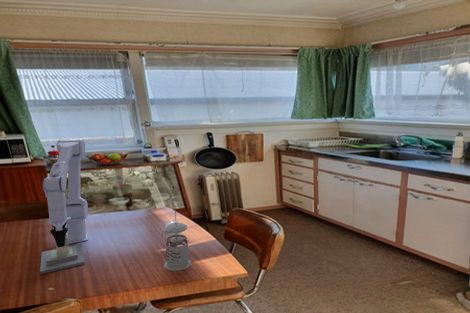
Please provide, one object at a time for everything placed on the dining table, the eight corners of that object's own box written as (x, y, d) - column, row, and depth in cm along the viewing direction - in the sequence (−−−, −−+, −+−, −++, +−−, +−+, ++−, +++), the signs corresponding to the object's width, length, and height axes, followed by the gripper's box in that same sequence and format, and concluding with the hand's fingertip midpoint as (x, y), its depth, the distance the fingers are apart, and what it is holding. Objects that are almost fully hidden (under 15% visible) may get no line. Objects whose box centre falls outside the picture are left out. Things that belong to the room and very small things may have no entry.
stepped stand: (42, 254, 124) (41, 247, 124) (81, 246, 131) (80, 240, 131) (40, 274, 109) (39, 266, 108) (84, 264, 116) (84, 257, 115)
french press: (178, 273, 108) (175, 202, 104) (154, 265, 114) (150, 197, 110) (197, 261, 116) (194, 195, 112) (173, 254, 122) (170, 191, 118)
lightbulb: (178, 250, 125) (177, 224, 124) (163, 249, 126) (162, 223, 125) (184, 244, 131) (183, 218, 130) (170, 243, 133) (168, 218, 131)
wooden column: (57, 251, 121) (55, 236, 120) (68, 248, 122) (67, 234, 122) (57, 255, 117) (55, 240, 116) (69, 252, 119) (67, 237, 118)
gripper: (70, 211, 113) (73, 247, 115) (68, 201, 125) (72, 234, 127) (47, 215, 109) (51, 252, 111) (48, 204, 122) (51, 238, 124)
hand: (61, 242), depth 119 cm, fingers open, 7 cm apart
